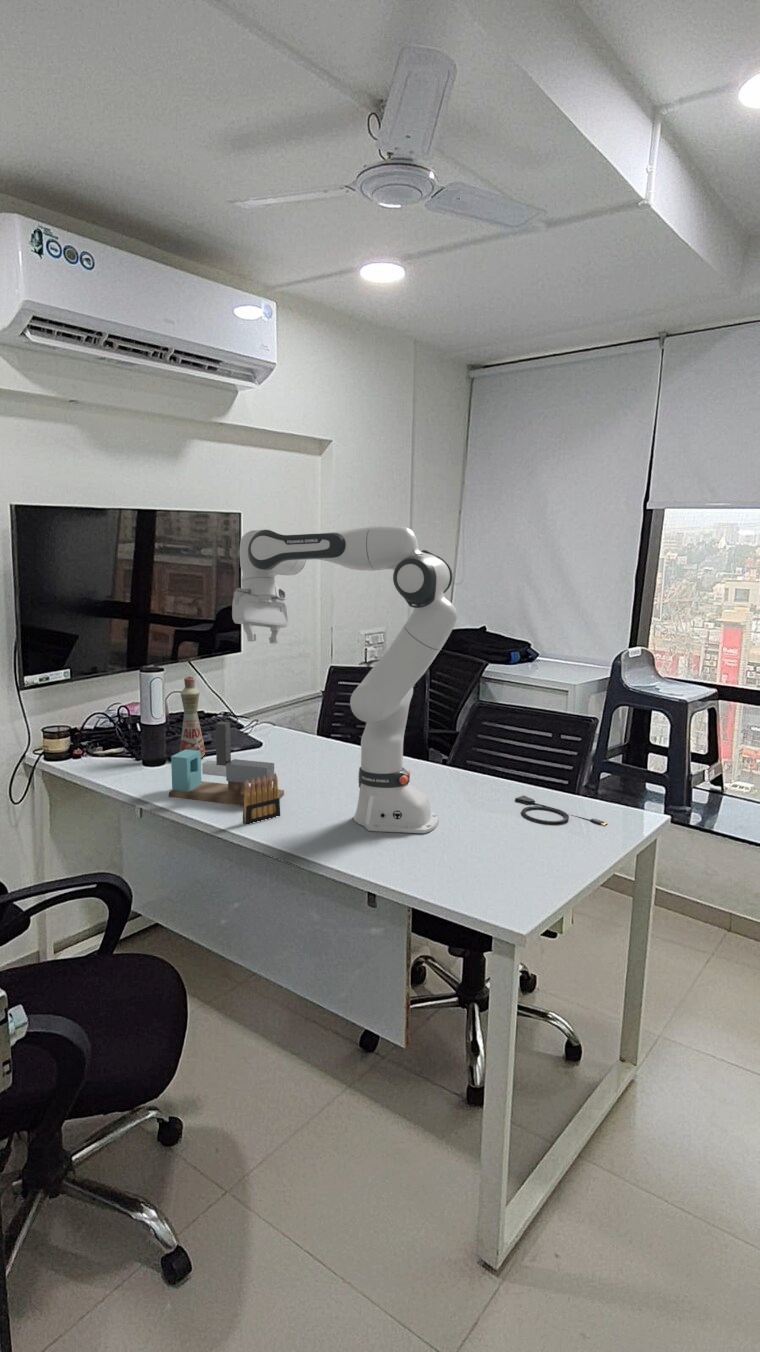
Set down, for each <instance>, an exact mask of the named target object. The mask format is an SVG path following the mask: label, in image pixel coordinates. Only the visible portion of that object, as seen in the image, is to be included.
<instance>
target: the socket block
mask: <svg viewBox="0 0 760 1352" xmlns="http://www.w3.org/2000/svg"><path fill="white" fill-rule="evenodd" d="M170 761H171V762H170V764H171V765H170V766H171V790H176V791H185V792H188V791H190V790H192V789H193V788H195V787H197V786H198V785H200V784H201V781H202V759H201V751H196V750H186V749H185V750H183V751H181V752H180V751H179V752H177V753H175V754H173V755H171V756H170Z"/></svg>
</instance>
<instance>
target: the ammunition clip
mask: <svg viewBox="0 0 760 1352" xmlns="http://www.w3.org/2000/svg"><path fill="white" fill-rule="evenodd" d="M278 784H279V781H278V775H277V773H276V772H274V778H273V781H272V778H271V775H270V774H269V776H268V785H267V786H266V778H265V776H263V779H262V789H261V783H260V778H259V777H258V778H257V782H256V792H255V782H254V779H253V778H252V780H251V783H249V782H248V780H247V779H246V782H245V793H244V804H243V806H242V823H243V824H244V825H246V824H249V825H251V824H250V823H252V824H254V823H253V822H256V823H258V822H257V821H260V822H262V821H261V820H264V821H266V820H265V819H267V820H270V819H269V818H271V819H274V818H273V817H275V818H277V817H276V816H279V817H281V803H280V802H281V801H280V799H281V798H279V790H280V789H279V785H278ZM249 786H250V787H251V788H250V790H249Z"/></svg>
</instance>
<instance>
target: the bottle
mask: <svg viewBox="0 0 760 1352" xmlns="http://www.w3.org/2000/svg"><path fill="white" fill-rule="evenodd" d="M195 686H196V678H195V677H193V676H191V675H189V676H186V677H184V688H183V689H182V690H181V691H180V698H181V702H182V707H183V720H182V726H181V727H182V729H181V730H182V731H181V738H180V746H179V752H181V751H183V750H185V749H186V750H196V751H201V757H203V756H204V755H205V752H206V748H205V744H204V738H203V734H202V730H201V723H200V720H199V715H198V706H199V699H200V698H199V697H200V691H199V689H197V687H195ZM205 756H206V755H205Z"/></svg>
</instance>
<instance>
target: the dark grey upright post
mask: <svg viewBox="0 0 760 1352" xmlns="http://www.w3.org/2000/svg"><path fill="white" fill-rule="evenodd" d="M231 748H232V747H231V722H229V721H219V722H217V723H215V750H216V751H215V756H216V757H215V758H216V760H209V759H208V760H206V761H204V762H201V775H207V776H208V775H209V776H216V777H225V778H226V764H227V763H228V762H230V761H232V757H231V755H232V754H231V752H232V751H231V750H232V749H231Z"/></svg>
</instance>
